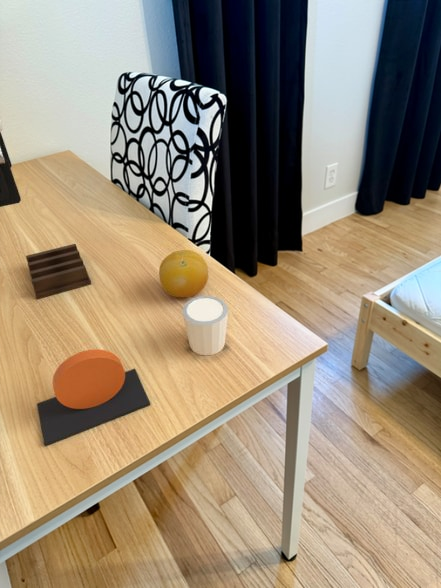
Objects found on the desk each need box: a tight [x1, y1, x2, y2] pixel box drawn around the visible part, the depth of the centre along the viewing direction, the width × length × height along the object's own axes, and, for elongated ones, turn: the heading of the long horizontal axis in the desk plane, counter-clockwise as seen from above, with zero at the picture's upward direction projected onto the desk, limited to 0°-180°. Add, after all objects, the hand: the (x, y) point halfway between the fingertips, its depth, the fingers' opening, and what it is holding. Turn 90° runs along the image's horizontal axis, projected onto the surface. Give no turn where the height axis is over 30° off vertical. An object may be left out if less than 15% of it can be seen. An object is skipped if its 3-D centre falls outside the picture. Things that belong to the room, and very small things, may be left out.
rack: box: [25, 243, 92, 300], centre depth 83 cm, size 10×11×4 cm
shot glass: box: [182, 295, 229, 356], centre depth 66 cm, size 7×7×7 cm
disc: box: [52, 348, 126, 409], centre depth 56 cm, size 9×2×9 cm, turn 116°
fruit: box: [158, 249, 209, 298], centre depth 76 cm, size 9×8×8 cm
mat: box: [36, 368, 151, 447], centre depth 59 cm, size 14×7×1 cm, turn 116°
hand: (0, 185), depth 44 cm, fingers open, 9 cm apart
